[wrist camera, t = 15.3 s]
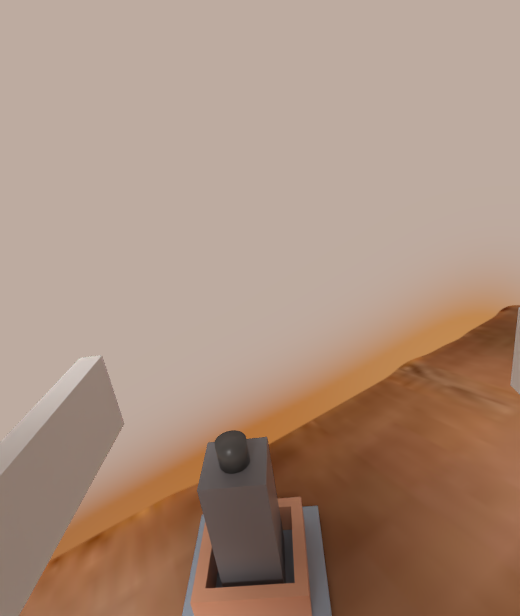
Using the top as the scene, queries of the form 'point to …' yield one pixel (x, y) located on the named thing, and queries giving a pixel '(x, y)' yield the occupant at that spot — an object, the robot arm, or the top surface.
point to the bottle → (242, 511)
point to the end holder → (273, 597)
